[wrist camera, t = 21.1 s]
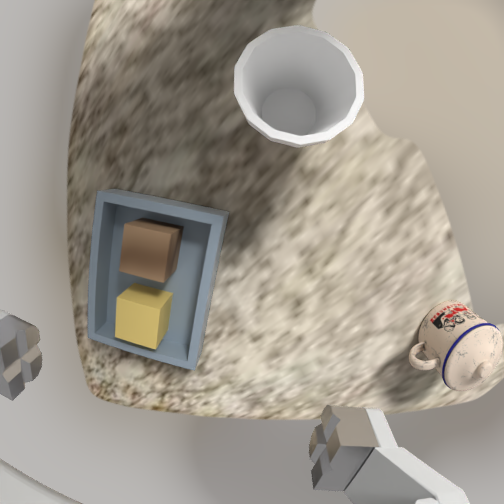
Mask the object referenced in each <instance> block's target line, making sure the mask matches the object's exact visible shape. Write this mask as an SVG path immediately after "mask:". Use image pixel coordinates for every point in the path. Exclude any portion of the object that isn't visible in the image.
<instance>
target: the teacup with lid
mask: <svg viewBox="0 0 504 504" xmlns="http://www.w3.org/2000/svg"><path fill="white" fill-rule="evenodd" d="M418 339H419V344H416V345H415V346H413V347H412V349H411V350H410V353H409V362H410V364H411V365H412V366H413V367H414V368H416V369H418V370H431V369H434V368H436V369H437V371H438V372H439V373H440V374H441V376H442V378H443V381H444V383H445V384H446V385H447V386H448V387H449V388H451V389H453V390H456V391H466V390H470V389H472V388H474V387H476V386H478V385H479V384H481V383H482V382H483V381H484V380H486V379H487V378H488V377H489V375H490V374H491V373H492V372H493V370H494V369H495V367H496V366H497V364H498V362H499V360H500V357H501V354H502V349H503V340H502V336H501V333H500V331H499V329H498V328H497V327H496V326H495V325H493V324H490V323H487V322H486V321H485V320H483V319H482V318H481V317H480V316H478V315H477V314H476V313H474V312H473V311H472V310H470V309H469V308H468V307H466V306H465V305H464V304H462V303H461V302H458V301H446V302H443V303H441V304H439V305H437V306H436V307H435V308H433V309H432V310H431V311H430V312H429V313H428V315H427V316H426V317H425V319H424V321H423V322H422V325H421V327H420V330H419V337H418ZM422 351H423V353H424V354H425V355H426V356H427V358H428V359H429V360H427V361H424V360H419V359H417V358H416V357H415V355H416V354H418V353H419V352H422Z"/></svg>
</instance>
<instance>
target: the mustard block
mask: <svg viewBox="0 0 504 504" xmlns="http://www.w3.org/2000/svg"><path fill="white" fill-rule="evenodd" d="M172 297H173V293H171V292H167V291H163V290H159V289H156V288H152V287H148V286H144V285H141V284H137V283H133V284H132V285H131V286H130V287H129V288H127V289H126V290H125V291H124V292H123V293H122V294H120V295H119V296H118V297H117V305H116V325H115V337H117V338H120V339H123V340H126V341H129V342H132V343H136V344H139V345H142V346H146V347H149V348H152V349H156V348H157V347H158V345H159V343H160V342H161V340H162V339H163V337H164V335H165V334H166V332H167V331H168V326H169V319H170V311H171V304H172Z"/></svg>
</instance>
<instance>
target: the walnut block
mask: <svg viewBox="0 0 504 504" xmlns="http://www.w3.org/2000/svg"><path fill="white" fill-rule="evenodd" d="M183 228H184V226H180V225H175V224H170V223H166V222H161V221H157V220H152V219H147V218H143V217H142V218H139V219H137V220H134V221H131V222H128V223H126V224H124V231H123V239H122V248H121V257H120V268H119V271H120V272H124V273H128V274H131V275H135V276H139V277H143V278H147V279H150V280H154V281H158V282H162V283H164V282H165V281H166V280H167V279H168V278H169V277H170V276H171V275H172V273H173V272H174V271H175V270H176V269H177V264H178V258H179V252H180V246H181V240H182V234H183Z"/></svg>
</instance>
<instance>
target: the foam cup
mask: <svg viewBox="0 0 504 504" xmlns="http://www.w3.org/2000/svg"><path fill="white" fill-rule="evenodd" d="M234 95H235V97H236V100H237V102H238V104H239V106H240V108H241V110H242V112H243V114H244V115H245V117H246V119H247V121H248V123H249V125H251V126H252V127H253V128H255V129H256V130H257V131H258V132H260V133H261V134H262V135H264V136H265V137H266V138H267V139H269V140H270V141H273V142H277V143H281V144H285V145H289V146H293V147H297V148H299V147H304V146H309V145H315V144H321V143H325V142H327V141H328V140H330V139H332V138H333V137H334V136H336V135H337V134H338V133H340V132H341V131H343V130H344V129H345V128H347V127H348V126H349V125H351V124H352V123H353V121H354V119H355V117H356V115H357V113H358V111H359V109H360V107H361V105H362V103H363V101H364V87H363V73H362V71H361V69H360V67H359V65H358V63H357V62H356V60H355V58H354V56H353V55H352V53H351V51H350V49H348V48H347V47H346V46H345V45H343V44H342V43H340V42H339V41H338V40H336V39H335V38H334V37H333V36H331V35H330V34H328V33H327V32H324V31H321V30H317V29H313V28H309V27H305V26H301V25H295V26H287V27H281V28H274V29H270V30H268V31H267V32H265V33H264V34H262V35H260V36H259V37H257V38H256V39H254V40H253V41H251V42H250V43H248V44H247V46H246V48H245V49H244V51H243V53H242V54H241V56H240V58H239V60H238V61H237V63H236V65H235V67H234Z"/></svg>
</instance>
